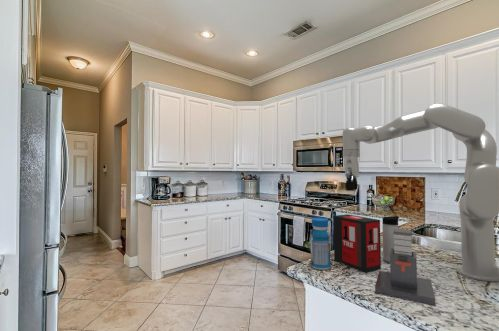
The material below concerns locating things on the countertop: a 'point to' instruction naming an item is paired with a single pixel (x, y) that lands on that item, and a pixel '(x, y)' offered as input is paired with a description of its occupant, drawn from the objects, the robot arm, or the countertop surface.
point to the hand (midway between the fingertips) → (351, 189)
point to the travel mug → (388, 235)
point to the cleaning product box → (357, 242)
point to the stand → (405, 280)
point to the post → (403, 242)
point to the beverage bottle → (320, 244)
